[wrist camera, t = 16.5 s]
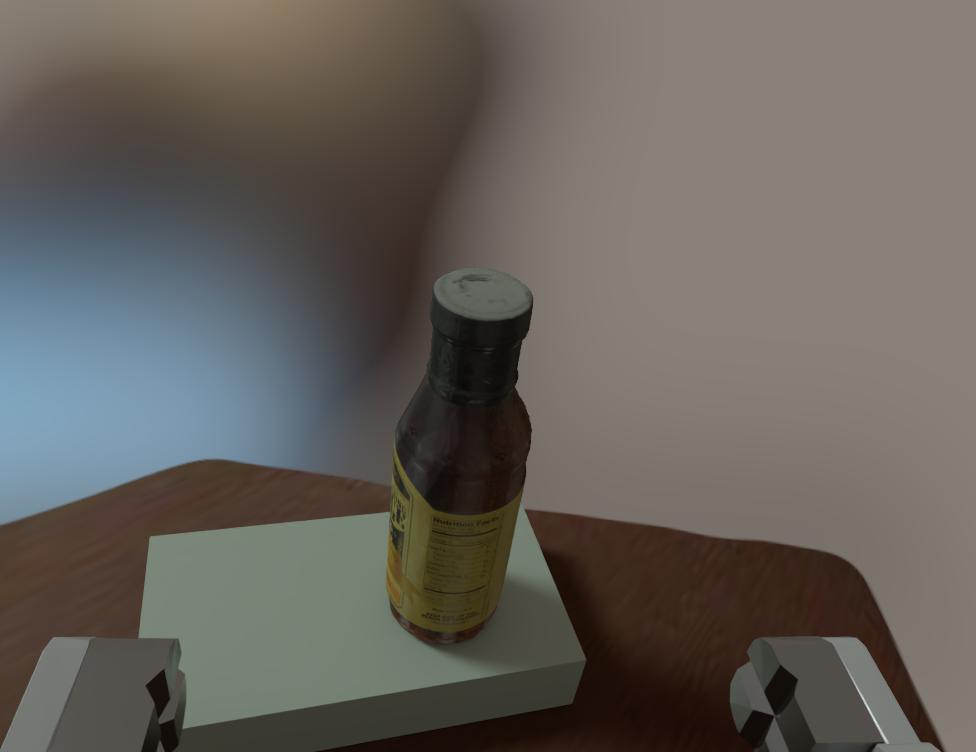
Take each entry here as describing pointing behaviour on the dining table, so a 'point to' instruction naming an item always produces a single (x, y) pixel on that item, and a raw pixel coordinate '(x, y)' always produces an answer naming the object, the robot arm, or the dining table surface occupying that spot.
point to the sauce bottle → (460, 461)
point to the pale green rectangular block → (341, 639)
